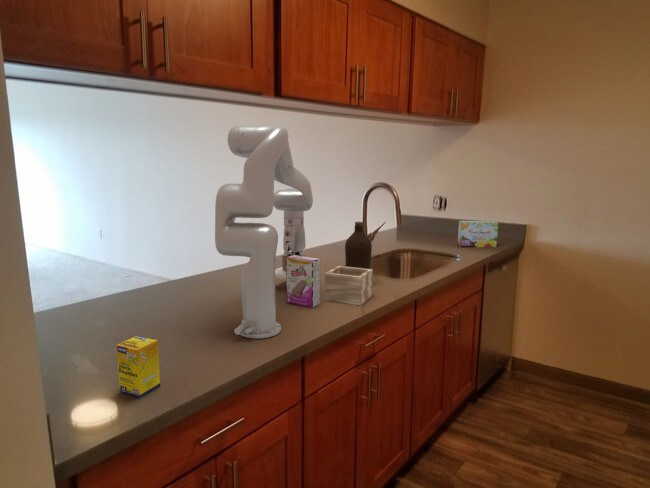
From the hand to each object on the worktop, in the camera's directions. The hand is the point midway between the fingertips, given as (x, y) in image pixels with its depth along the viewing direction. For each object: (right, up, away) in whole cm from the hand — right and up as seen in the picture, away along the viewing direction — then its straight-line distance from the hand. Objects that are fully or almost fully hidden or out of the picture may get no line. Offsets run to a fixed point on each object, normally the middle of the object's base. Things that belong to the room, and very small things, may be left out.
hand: (294, 268), depth 176 cm
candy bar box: (+4, -12, -18) cm, 22 cm away
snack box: (+100, +8, +89) cm, 134 cm away
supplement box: (-28, -22, -77) cm, 85 cm away
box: (+21, -10, -11) cm, 26 cm away
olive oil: (+25, -7, +9) cm, 27 cm away
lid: (0, -2, 0) cm, 2 cm away
